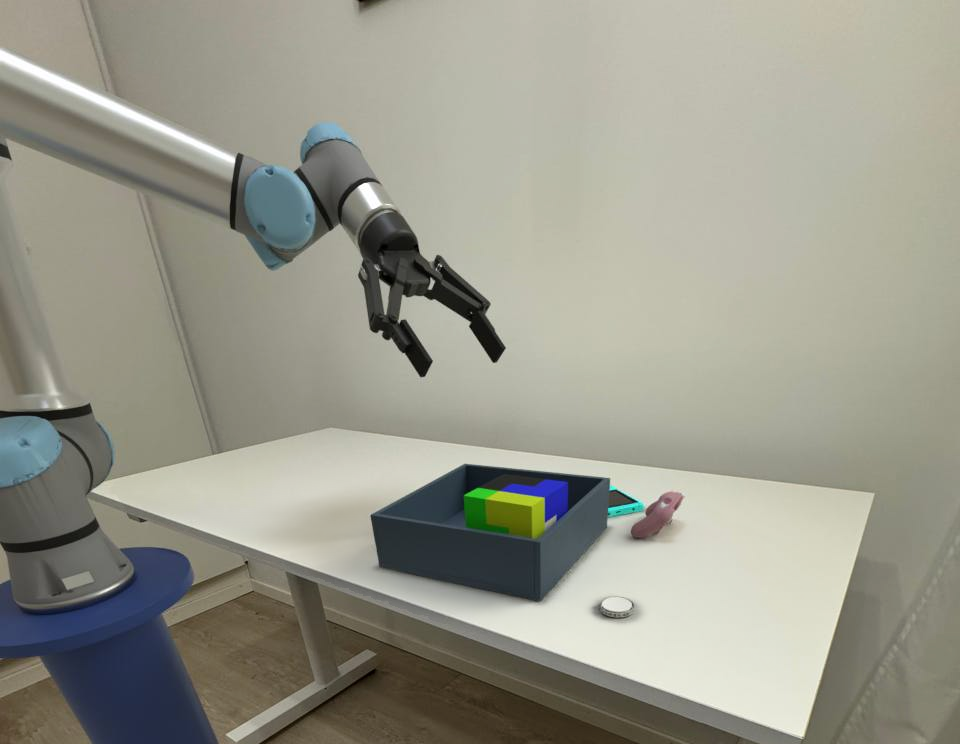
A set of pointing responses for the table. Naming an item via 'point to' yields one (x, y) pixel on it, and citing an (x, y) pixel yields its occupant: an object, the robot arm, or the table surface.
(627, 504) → the handheld game console
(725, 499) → the table surface
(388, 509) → the bin
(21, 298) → the robot arm
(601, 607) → the white grey disc
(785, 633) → the table surface
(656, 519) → the video game controller
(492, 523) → the puzzle toy
